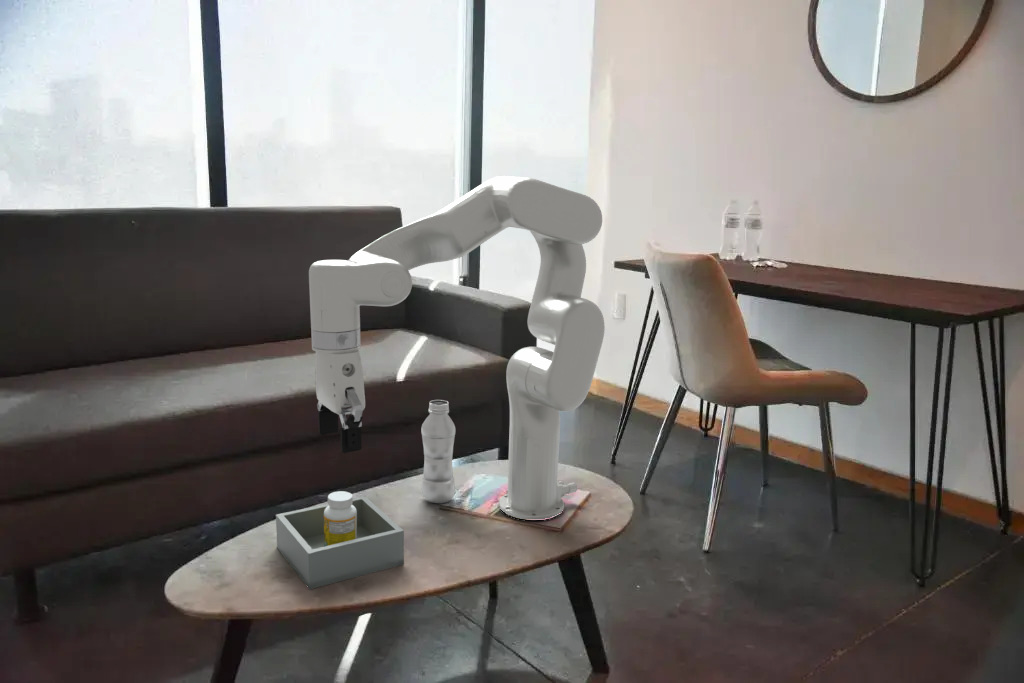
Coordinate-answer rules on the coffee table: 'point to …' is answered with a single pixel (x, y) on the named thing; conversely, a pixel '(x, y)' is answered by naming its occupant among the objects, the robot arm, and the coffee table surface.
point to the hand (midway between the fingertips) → (339, 441)
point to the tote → (339, 544)
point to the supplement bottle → (340, 519)
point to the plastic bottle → (438, 454)
